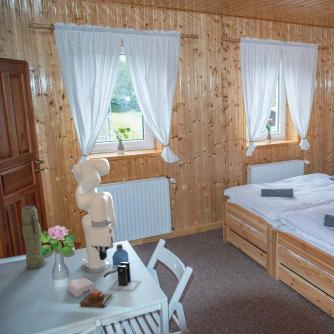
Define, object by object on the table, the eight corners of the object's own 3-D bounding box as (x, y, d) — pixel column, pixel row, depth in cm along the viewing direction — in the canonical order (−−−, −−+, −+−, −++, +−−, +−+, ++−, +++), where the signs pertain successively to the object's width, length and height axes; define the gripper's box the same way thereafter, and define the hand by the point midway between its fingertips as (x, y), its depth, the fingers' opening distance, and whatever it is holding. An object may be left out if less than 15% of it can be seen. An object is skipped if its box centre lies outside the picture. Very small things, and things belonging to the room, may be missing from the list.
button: (90, 297, 179) (89, 293, 179) (94, 293, 183) (93, 289, 183) (97, 297, 179) (97, 294, 179) (101, 293, 183) (101, 290, 182)
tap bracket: (109, 289, 193) (107, 267, 190) (117, 280, 202) (115, 259, 199) (132, 290, 192) (131, 269, 189) (139, 281, 200) (138, 260, 198)
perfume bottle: (123, 267, 216) (121, 247, 213) (113, 267, 217) (111, 247, 214) (128, 263, 222) (127, 243, 219) (118, 262, 223) (117, 242, 220)
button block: (80, 306, 178) (79, 299, 177) (90, 296, 187) (89, 288, 186) (103, 308, 177) (102, 300, 176) (112, 297, 186) (111, 290, 185)
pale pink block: (80, 281, 201) (95, 291, 192) (62, 288, 194) (77, 299, 185) (79, 273, 200) (94, 282, 191) (61, 280, 193) (76, 290, 184)
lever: (104, 278, 194) (102, 274, 194) (109, 274, 199) (107, 270, 199) (124, 271, 192) (122, 266, 192) (129, 266, 197) (126, 262, 197)
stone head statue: (36, 270, 213) (28, 210, 206) (22, 266, 218) (13, 207, 211) (50, 264, 221) (43, 205, 213) (36, 260, 226) (29, 203, 218)
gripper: (119, 220, 183) (121, 256, 187) (89, 219, 185) (92, 254, 189) (111, 226, 175) (114, 263, 180) (80, 224, 177) (84, 261, 181)
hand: (103, 258), depth 184 cm, fingers closed
